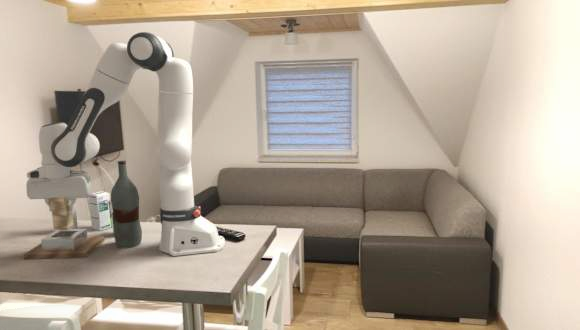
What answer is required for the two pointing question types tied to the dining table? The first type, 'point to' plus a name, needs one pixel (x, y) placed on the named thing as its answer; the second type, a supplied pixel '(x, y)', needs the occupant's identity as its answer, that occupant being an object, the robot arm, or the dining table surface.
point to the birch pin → (61, 214)
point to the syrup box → (100, 210)
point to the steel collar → (64, 240)
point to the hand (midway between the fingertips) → (61, 210)
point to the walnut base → (78, 252)
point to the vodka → (125, 210)
